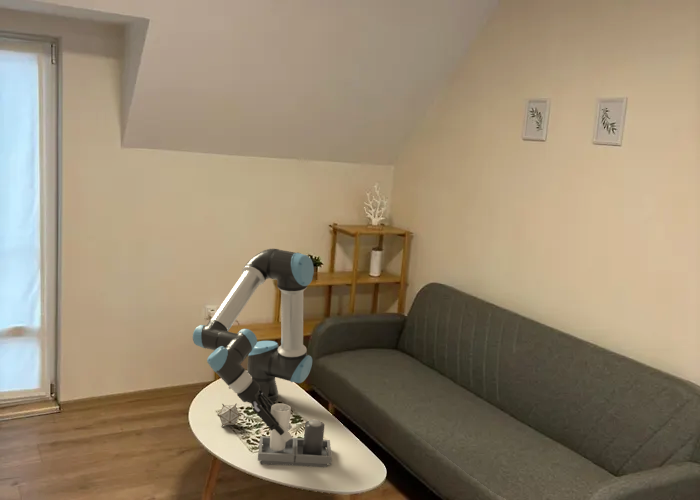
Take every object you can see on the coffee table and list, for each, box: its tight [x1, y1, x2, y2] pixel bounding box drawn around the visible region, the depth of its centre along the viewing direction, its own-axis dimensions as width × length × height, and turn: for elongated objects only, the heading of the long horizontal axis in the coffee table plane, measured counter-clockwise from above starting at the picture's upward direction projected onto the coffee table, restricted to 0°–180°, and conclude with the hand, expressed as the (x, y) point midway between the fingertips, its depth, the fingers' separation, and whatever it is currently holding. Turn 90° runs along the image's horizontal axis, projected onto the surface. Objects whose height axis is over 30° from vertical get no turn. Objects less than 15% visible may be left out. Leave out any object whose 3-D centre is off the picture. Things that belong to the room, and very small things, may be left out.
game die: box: [216, 403, 242, 428], centre depth 240 cm, size 9×8×10 cm
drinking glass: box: [269, 403, 292, 451], centre depth 221 cm, size 7×7×15 cm
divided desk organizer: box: [257, 418, 333, 468], centre depth 222 cm, size 13×24×13 cm, turn 95°
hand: (289, 434), depth 222 cm, fingers closed on drinking glass, 7 cm apart
